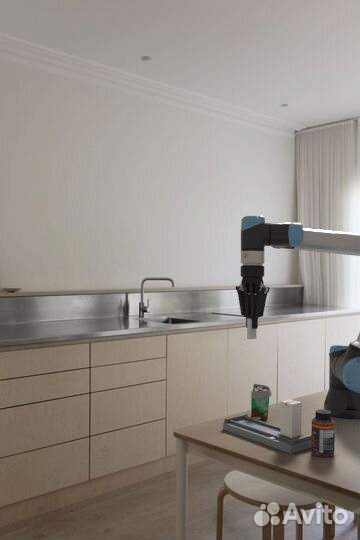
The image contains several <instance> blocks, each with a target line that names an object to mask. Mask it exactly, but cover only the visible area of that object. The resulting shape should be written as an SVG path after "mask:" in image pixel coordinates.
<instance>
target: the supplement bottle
mask: <svg viewBox="0 0 360 540" xmlns="http://www.w3.org/2000/svg"><path fill="white" fill-rule="evenodd" d="M314 414H315V416H314V417H313V418H312V419H311V433H310V434H311V448H310V450H311V453H312V454H313V455H315V456H316V457H322V458H330V457H333V456H334V455H335V450H336V449H335V446H336V445H335V443H336V435H335V434H336V423H335V420H334V419H332V415H331V411H329V410H325V409H324V408H321V409H316V410H315V413H314Z"/></svg>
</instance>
